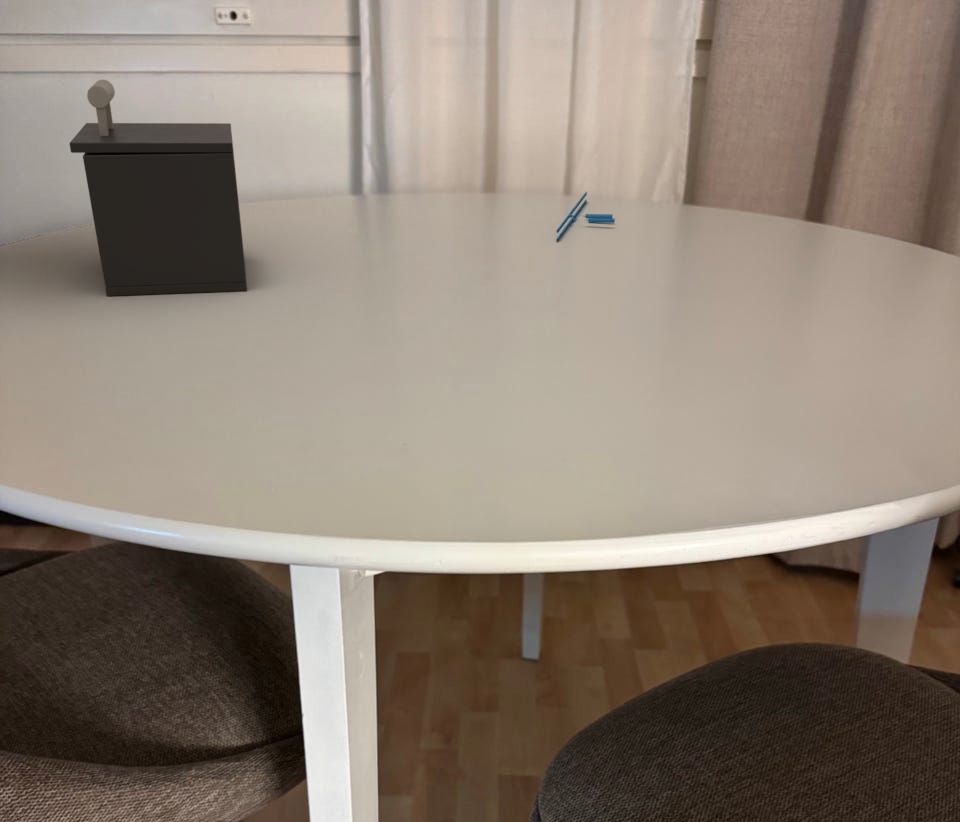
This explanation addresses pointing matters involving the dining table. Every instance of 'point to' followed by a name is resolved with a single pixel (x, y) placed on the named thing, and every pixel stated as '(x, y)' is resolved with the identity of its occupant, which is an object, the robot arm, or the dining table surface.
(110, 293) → the box
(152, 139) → the lid
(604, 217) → the chopsticks
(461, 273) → the dining table surface
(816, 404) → the dining table surface
